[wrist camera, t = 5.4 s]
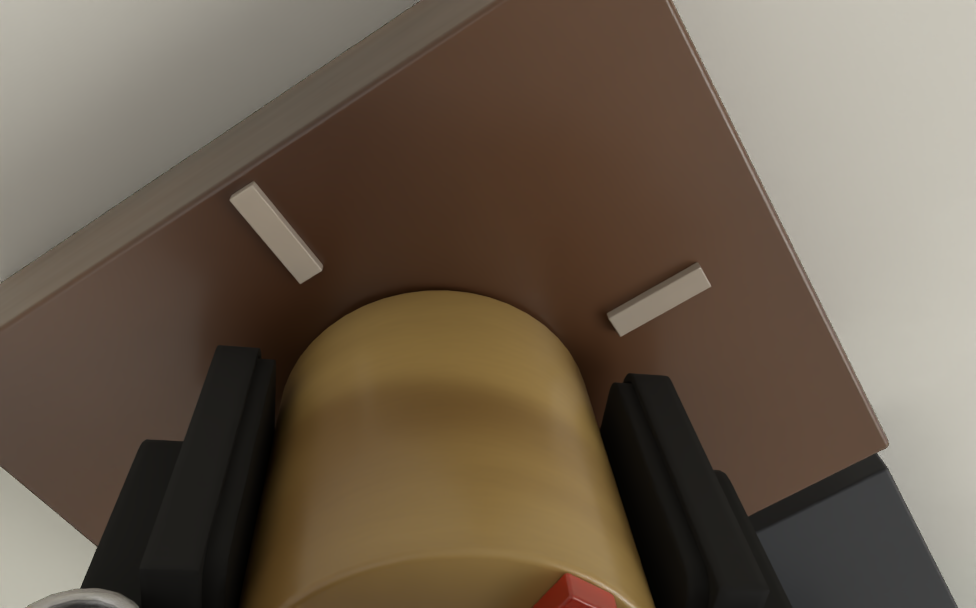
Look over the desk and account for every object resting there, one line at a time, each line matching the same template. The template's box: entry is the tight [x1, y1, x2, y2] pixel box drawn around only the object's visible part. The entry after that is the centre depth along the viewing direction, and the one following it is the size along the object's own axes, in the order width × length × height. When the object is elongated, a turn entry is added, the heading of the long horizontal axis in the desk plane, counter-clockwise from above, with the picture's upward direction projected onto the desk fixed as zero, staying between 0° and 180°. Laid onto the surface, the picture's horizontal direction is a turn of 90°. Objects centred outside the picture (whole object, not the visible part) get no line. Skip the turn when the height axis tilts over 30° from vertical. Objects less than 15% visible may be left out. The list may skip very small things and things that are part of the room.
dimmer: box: [0, 0, 889, 547], centre depth 14 cm, size 11×9×3 cm
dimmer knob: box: [238, 290, 656, 608], centre depth 11 cm, size 4×4×5 cm
